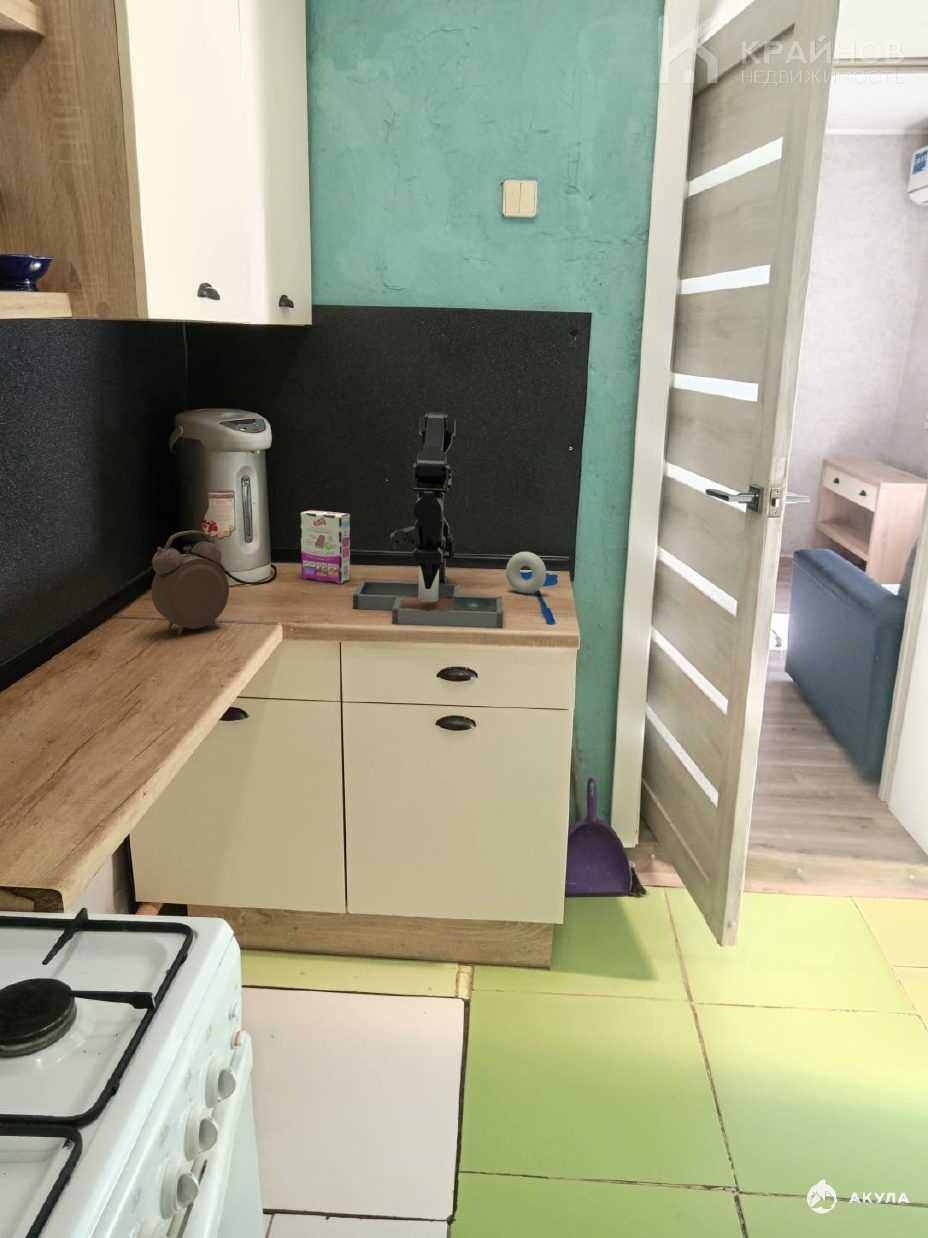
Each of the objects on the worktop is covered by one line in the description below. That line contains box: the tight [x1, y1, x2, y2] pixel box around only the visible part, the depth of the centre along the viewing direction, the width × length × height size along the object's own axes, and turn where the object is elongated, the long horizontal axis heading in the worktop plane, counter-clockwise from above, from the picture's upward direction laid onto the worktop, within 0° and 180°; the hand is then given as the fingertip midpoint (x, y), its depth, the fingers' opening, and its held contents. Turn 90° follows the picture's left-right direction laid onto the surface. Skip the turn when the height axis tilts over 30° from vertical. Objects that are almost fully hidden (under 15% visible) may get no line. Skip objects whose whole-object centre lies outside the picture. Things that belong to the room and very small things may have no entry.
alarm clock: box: [150, 530, 230, 635], centre depth 193 cm, size 14×7×20 cm, turn 135°
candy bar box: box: [300, 509, 351, 585], centre depth 236 cm, size 11×5×16 cm, turn 68°
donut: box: [505, 551, 547, 594], centre depth 230 cm, size 10×4×10 cm, turn 64°
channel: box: [352, 580, 504, 629], centre depth 215 cm, size 23×32×3 cm
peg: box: [417, 565, 439, 603], centre depth 216 cm, size 4×4×9 cm
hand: (428, 586), depth 216 cm, fingers closed on peg, 4 cm apart
